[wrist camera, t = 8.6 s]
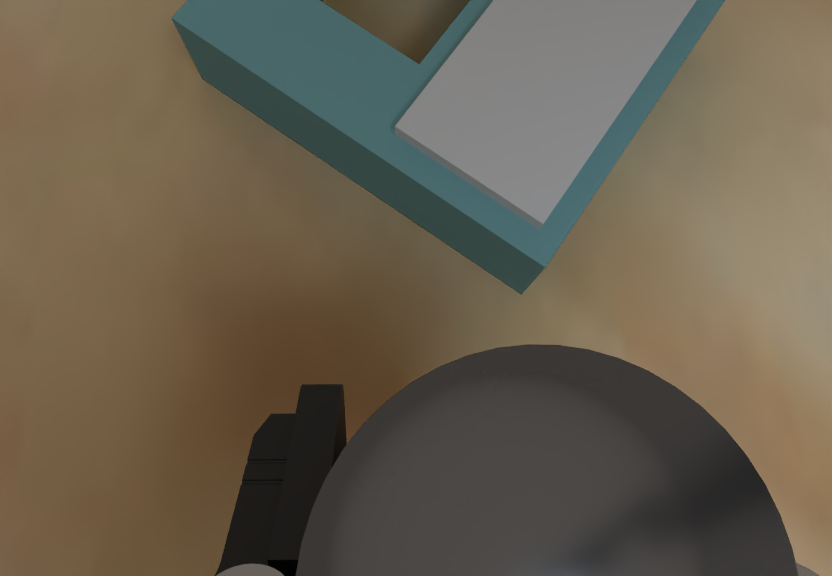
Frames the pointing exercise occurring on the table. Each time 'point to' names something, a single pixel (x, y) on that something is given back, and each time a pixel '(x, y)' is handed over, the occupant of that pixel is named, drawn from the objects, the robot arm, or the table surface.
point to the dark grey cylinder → (543, 479)
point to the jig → (458, 105)
